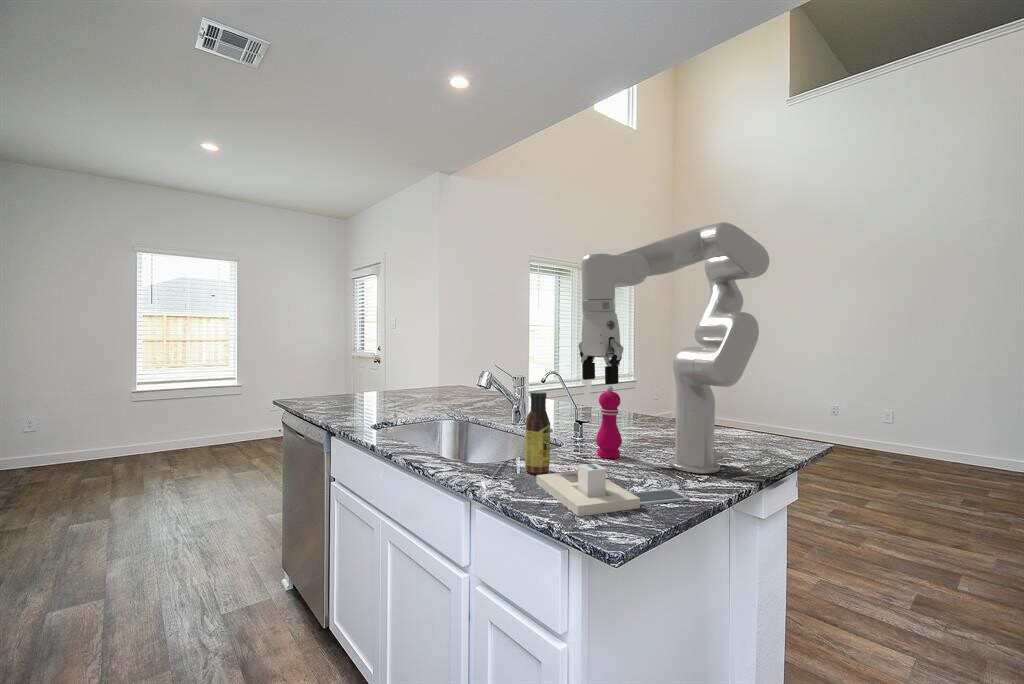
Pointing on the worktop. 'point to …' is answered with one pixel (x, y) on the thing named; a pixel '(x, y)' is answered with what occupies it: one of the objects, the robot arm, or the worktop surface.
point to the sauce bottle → (537, 436)
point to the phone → (659, 496)
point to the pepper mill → (609, 425)
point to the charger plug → (592, 480)
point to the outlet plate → (578, 503)
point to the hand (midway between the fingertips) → (599, 381)
